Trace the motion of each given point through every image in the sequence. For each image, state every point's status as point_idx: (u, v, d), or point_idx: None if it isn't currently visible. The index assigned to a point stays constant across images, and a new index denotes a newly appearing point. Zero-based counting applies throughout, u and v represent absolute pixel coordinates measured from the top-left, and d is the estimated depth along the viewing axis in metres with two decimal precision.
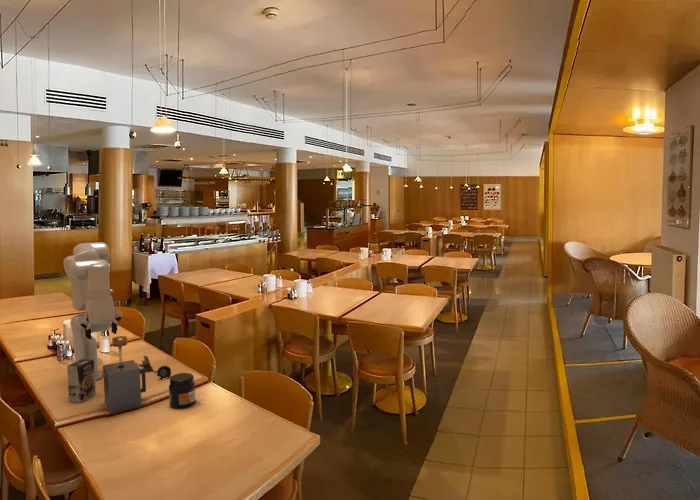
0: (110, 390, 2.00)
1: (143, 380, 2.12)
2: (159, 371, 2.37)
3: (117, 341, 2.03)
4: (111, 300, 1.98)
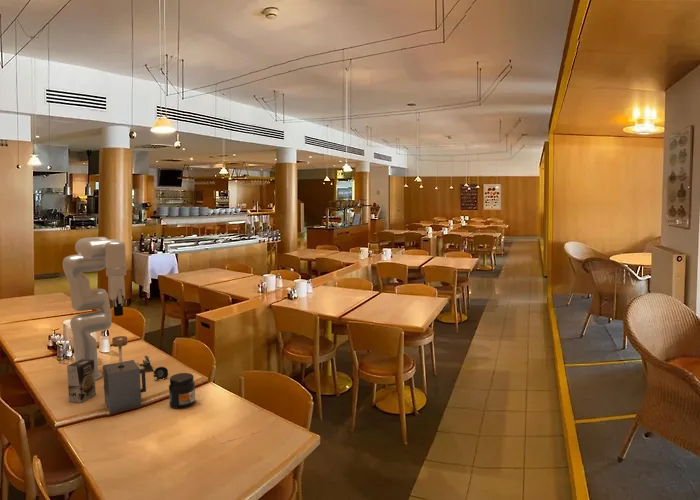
0: (110, 390, 2.00)
1: (143, 380, 2.12)
2: (156, 372, 2.36)
3: (117, 341, 2.03)
4: None
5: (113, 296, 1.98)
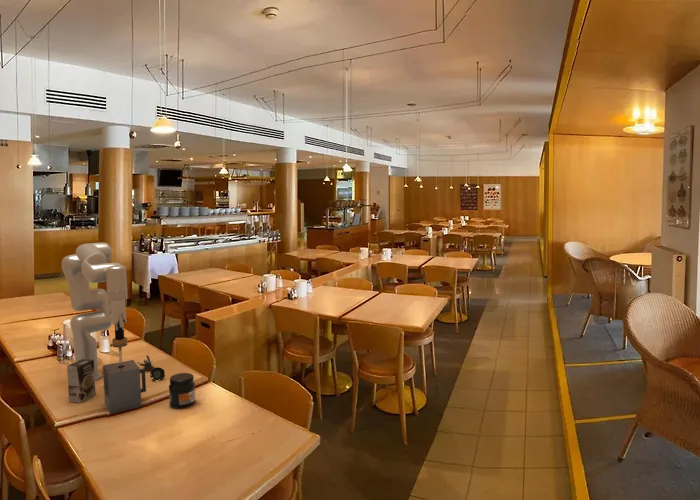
0: (110, 390, 2.00)
1: (143, 380, 2.12)
2: (153, 372, 2.36)
3: (117, 342, 2.03)
4: None
5: (114, 320, 1.99)
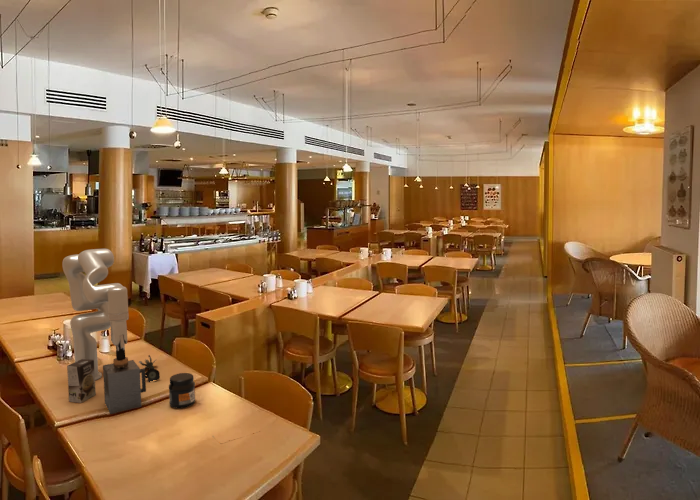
0: (110, 390, 2.00)
1: (143, 380, 2.12)
2: (148, 373, 2.35)
3: (118, 362, 2.04)
4: None
5: (115, 341, 2.00)
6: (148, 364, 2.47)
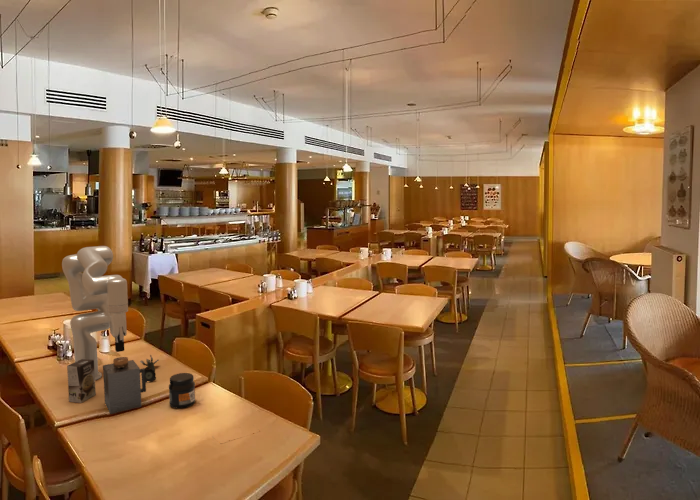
0: (110, 390, 2.00)
1: (143, 380, 2.12)
2: None
3: (118, 362, 2.04)
4: None
5: (115, 333, 2.00)
6: (149, 364, 2.47)
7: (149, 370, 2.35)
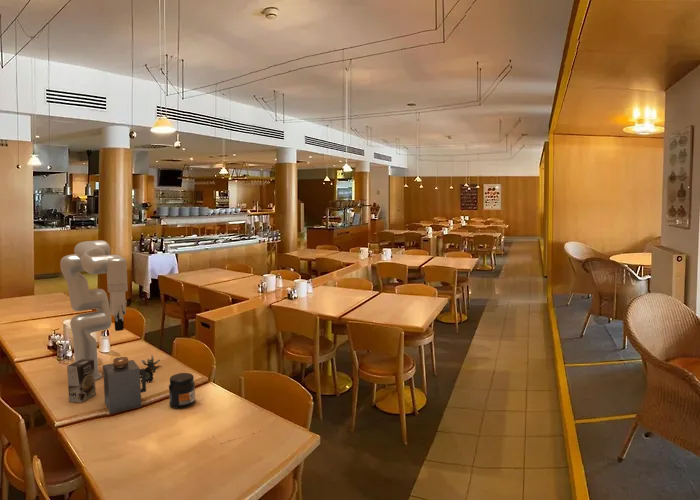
0: (110, 390, 2.00)
1: (143, 380, 2.12)
2: None
3: (118, 362, 2.04)
4: None
5: (114, 312, 2.01)
6: (149, 364, 2.47)
7: (147, 370, 2.35)
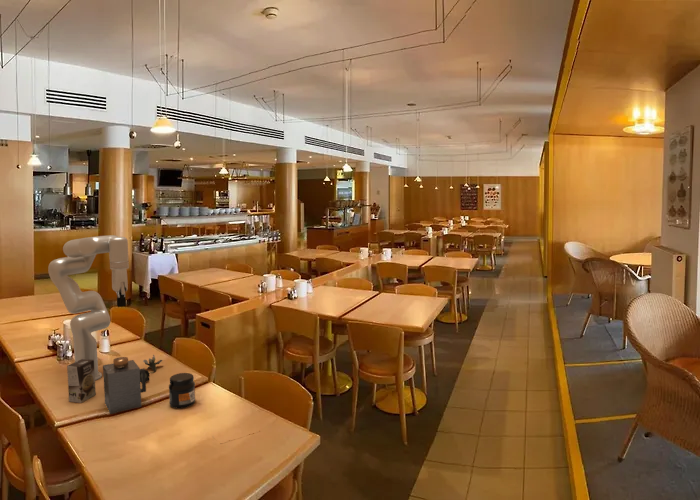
0: (110, 390, 2.00)
1: (143, 380, 2.12)
2: None
3: (118, 362, 2.04)
4: None
5: (116, 288, 2.13)
6: (150, 364, 2.47)
7: None
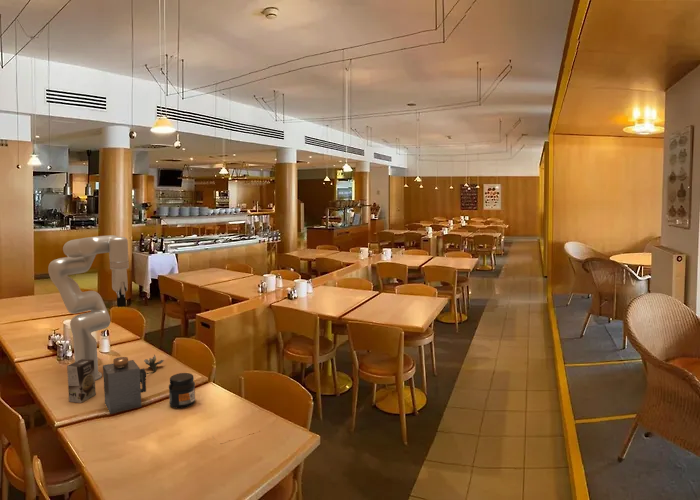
0: (110, 390, 2.00)
1: (143, 380, 2.12)
2: None
3: (118, 362, 2.04)
4: None
5: (116, 288, 2.13)
6: (150, 364, 2.47)
7: None
